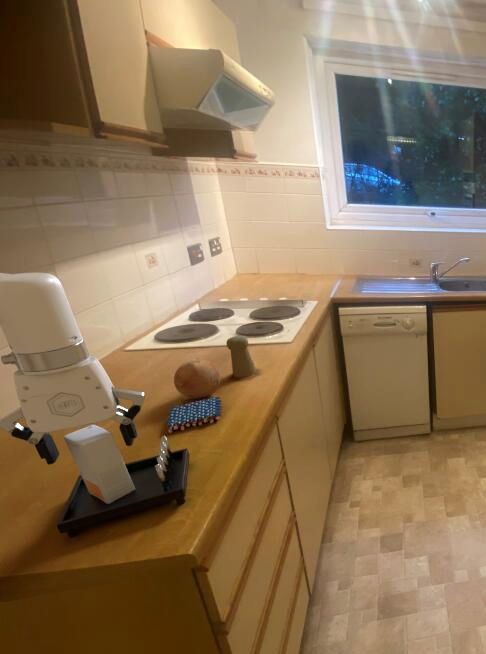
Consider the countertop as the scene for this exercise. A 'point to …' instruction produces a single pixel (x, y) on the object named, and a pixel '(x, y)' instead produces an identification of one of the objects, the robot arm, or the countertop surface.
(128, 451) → the countertop surface
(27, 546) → the countertop surface
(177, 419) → the woven mat
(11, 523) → the countertop surface
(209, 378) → the onion
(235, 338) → the pepper mill
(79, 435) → the cosmetic box
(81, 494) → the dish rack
